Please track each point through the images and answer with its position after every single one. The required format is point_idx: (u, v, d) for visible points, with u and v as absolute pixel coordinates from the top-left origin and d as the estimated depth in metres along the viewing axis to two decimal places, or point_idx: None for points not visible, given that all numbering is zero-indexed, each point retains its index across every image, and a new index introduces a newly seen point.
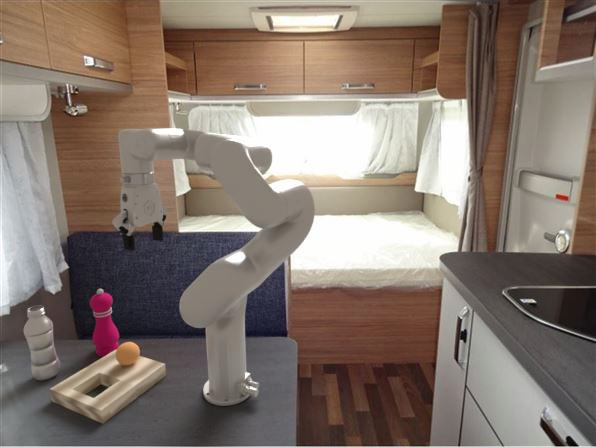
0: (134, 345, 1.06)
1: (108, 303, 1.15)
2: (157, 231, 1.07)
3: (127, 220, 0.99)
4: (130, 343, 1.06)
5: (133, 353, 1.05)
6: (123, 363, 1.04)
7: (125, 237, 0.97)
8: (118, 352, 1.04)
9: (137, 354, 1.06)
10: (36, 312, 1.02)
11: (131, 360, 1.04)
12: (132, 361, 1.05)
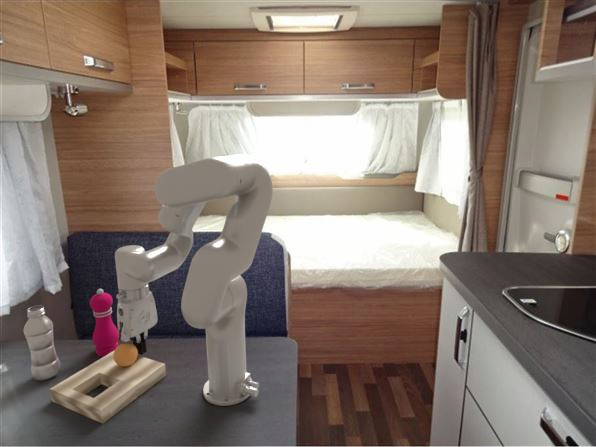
0: (131, 346, 1.06)
1: (108, 303, 1.15)
2: None
3: None
4: (126, 344, 1.05)
5: (131, 354, 1.04)
6: (122, 365, 1.04)
7: (135, 343, 1.09)
8: (115, 355, 1.03)
9: (135, 354, 1.05)
10: (36, 312, 1.02)
11: (129, 361, 1.04)
12: (131, 362, 1.05)
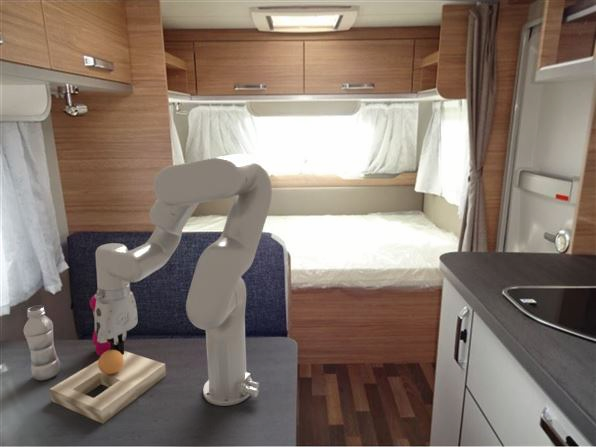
0: (110, 355, 1.01)
1: None
2: None
3: None
4: (105, 358, 1.00)
5: (118, 360, 1.01)
6: (118, 370, 1.03)
7: (113, 344, 1.05)
8: (106, 372, 1.00)
9: (120, 355, 1.03)
10: (36, 312, 1.02)
11: (121, 363, 1.02)
12: (122, 362, 1.03)
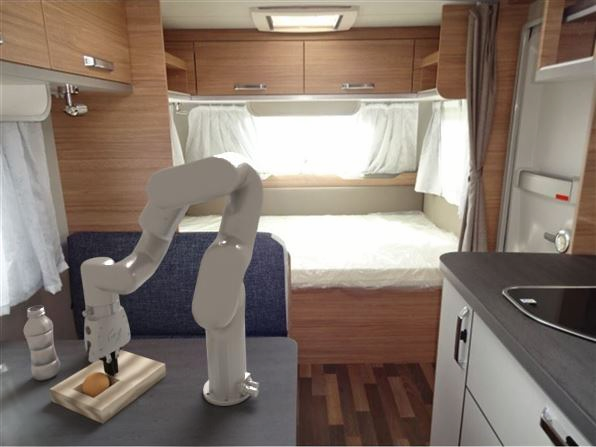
0: (88, 377, 0.98)
1: None
2: None
3: None
4: (85, 382, 0.97)
5: (98, 377, 0.98)
6: (107, 387, 0.99)
7: (106, 363, 1.00)
8: (94, 394, 0.97)
9: (99, 373, 0.99)
10: (36, 312, 1.02)
11: (105, 379, 0.99)
12: (106, 377, 0.99)
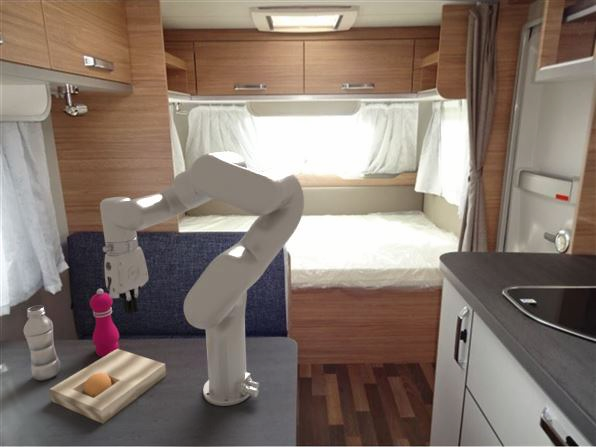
0: (92, 379, 0.97)
1: (108, 303, 1.15)
2: None
3: None
4: (88, 383, 0.96)
5: (102, 380, 0.97)
6: None
7: (125, 301, 1.03)
8: (95, 396, 0.96)
9: (103, 375, 0.99)
10: (36, 312, 1.02)
11: (108, 382, 0.98)
12: (109, 380, 0.99)
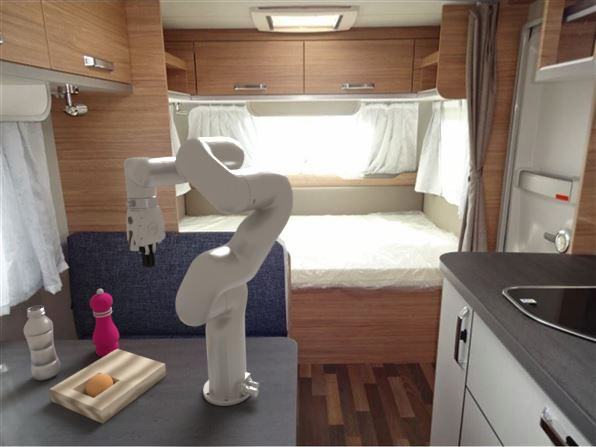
0: (96, 380, 0.96)
1: (108, 303, 1.15)
2: None
3: None
4: (91, 384, 0.96)
5: (105, 383, 0.97)
6: None
7: (144, 255, 1.11)
8: None
9: (107, 378, 0.98)
10: (36, 312, 1.02)
11: (111, 385, 0.98)
12: (112, 383, 0.99)
